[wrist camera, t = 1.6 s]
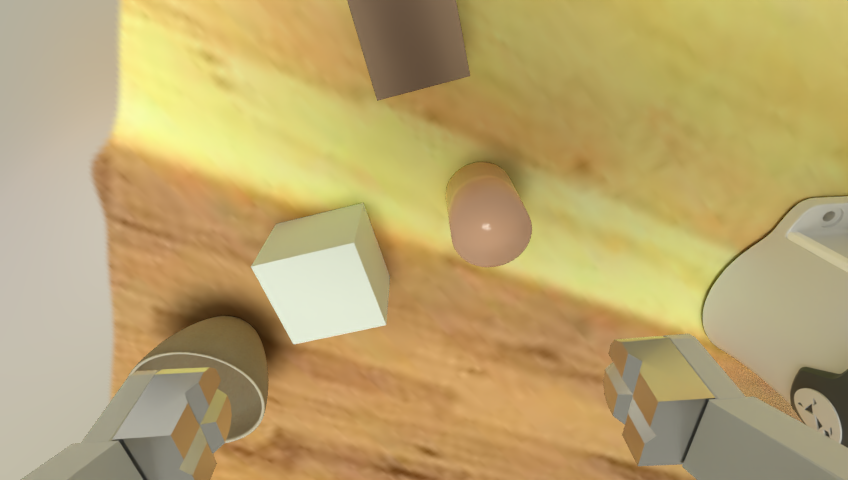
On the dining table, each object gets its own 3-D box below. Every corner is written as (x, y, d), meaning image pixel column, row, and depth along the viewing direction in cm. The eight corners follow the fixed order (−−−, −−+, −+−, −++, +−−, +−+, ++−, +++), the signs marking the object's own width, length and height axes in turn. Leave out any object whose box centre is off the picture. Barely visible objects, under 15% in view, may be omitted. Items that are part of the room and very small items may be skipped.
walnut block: (441, -31, 25) (449, -36, 20) (459, 59, 28) (470, 76, 22) (359, -7, 26) (345, -5, 21) (383, 79, 28) (377, 100, 23)
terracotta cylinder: (507, 154, 31) (526, 188, 26) (517, 215, 33) (536, 257, 28) (438, 171, 31) (443, 207, 26) (453, 230, 34) (460, 274, 29)
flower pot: (305, 363, 41) (285, 431, 34) (208, 384, 42) (172, 454, 36) (257, 279, 36) (224, 340, 30) (148, 306, 37) (95, 370, 31)
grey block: (363, 202, 33) (353, 242, 27) (390, 276, 36) (386, 325, 31) (276, 223, 33) (250, 266, 28) (310, 294, 37) (293, 344, 32)
